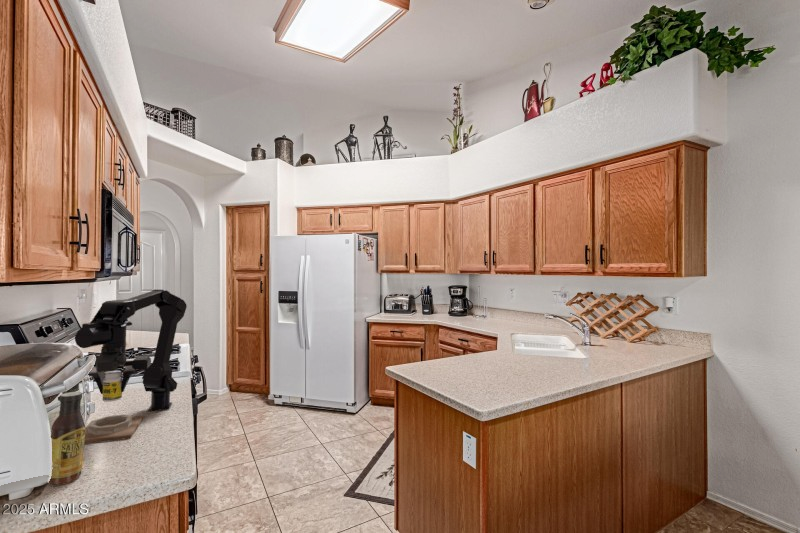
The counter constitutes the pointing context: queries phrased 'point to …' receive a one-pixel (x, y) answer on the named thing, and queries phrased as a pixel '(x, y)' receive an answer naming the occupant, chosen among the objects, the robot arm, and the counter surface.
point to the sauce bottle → (67, 440)
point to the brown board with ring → (112, 428)
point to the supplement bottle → (112, 386)
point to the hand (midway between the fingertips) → (112, 392)
